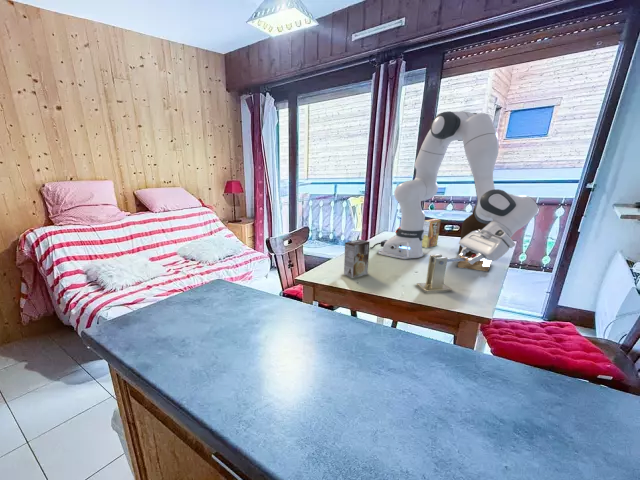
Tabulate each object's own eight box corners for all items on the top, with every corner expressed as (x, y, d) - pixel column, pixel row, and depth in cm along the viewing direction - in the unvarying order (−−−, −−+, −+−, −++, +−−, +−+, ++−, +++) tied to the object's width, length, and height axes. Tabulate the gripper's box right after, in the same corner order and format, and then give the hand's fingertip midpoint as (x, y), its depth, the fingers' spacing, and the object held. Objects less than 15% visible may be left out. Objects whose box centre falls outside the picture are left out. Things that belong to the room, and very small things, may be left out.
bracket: (440, 284, 137) (446, 252, 131) (451, 291, 129) (457, 258, 124) (416, 285, 137) (421, 254, 132) (425, 293, 130) (430, 260, 124)
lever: (463, 259, 131) (464, 254, 130) (471, 264, 126) (472, 258, 125) (430, 261, 132) (431, 256, 131) (437, 266, 126) (438, 260, 126)
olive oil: (468, 258, 166) (478, 208, 156) (452, 252, 175) (460, 205, 166) (485, 255, 168) (496, 206, 158) (469, 250, 177) (478, 203, 168)
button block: (457, 267, 154) (459, 259, 153) (461, 261, 161) (462, 253, 160) (487, 271, 147) (489, 263, 146) (490, 265, 154) (492, 257, 153)
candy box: (430, 244, 193) (434, 218, 187) (437, 245, 189) (441, 219, 183) (420, 246, 189) (424, 220, 183) (426, 248, 186) (430, 221, 180)
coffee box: (357, 271, 157) (360, 239, 151) (367, 275, 152) (370, 241, 145) (343, 275, 153) (344, 242, 147) (352, 279, 148) (354, 245, 142)
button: (470, 259, 153) (471, 255, 152) (471, 257, 155) (472, 253, 155) (479, 260, 151) (480, 256, 150) (480, 258, 153) (481, 255, 153)
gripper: (473, 223, 133) (445, 248, 137) (509, 234, 114) (475, 263, 118) (482, 233, 135) (454, 257, 139) (518, 246, 116) (485, 273, 120)
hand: (464, 260), depth 128 cm, fingers closed on lever, 5 cm apart
